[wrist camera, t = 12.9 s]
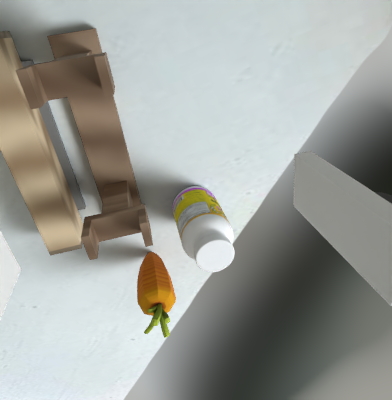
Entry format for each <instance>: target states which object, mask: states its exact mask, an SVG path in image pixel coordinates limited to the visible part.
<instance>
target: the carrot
mask: <svg viewBox="0 0 392 400" xmlns="http://www.w3.org/2000/svg"><path fill="white" fill-rule="evenodd" d="M137 297H138V304H139V306H140V307H141V309H142V311H143V312H144V314H147V315H152V316H153V318H152V321H151V323H150V325H149V327H148V328H147V329H146V330H145V332H144V333H145V334H148V333H149V332H150V331H151V330H152V328H153V326H157V325H158V323H159V321H160V324H161V328H162V332H163V335H164V338H165V337H168V336H169V335H170V333H169V330H168V327H167V323H169V322H170V319H169V316H168V314H167V312H169V311H170V310H171V308H172V306H173V305H174V303H175V300H176V297H175V293H174V289H173V285H172V282H171V278H170V276H169V274H168V271H167V269H166V267H165V265H164V263H163V261H162V259H161V258H160V257H159V256H158V255H157V254H155V253H154V252H149V253H148V254H147V255H146V256H145V258H144V260H143V262H142V264H141V267H140V271H139V275H138V282H137Z"/></svg>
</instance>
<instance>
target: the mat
mask: <svg viewBox="0 0 392 400" xmlns="http://www.w3.org/2000/svg"><path fill="white" fill-rule="evenodd" d="M21 63H22V66H23V67H25V66H28V65H33V64H34V62H33V60H29V61H23V62H21ZM39 110H40V113H41V116H42V118H43V121H44V123H45V126H46V129H47V131H48V134H49V136H50V139H51V142H52V144H53V147H54V149H55V152H56V155H57V157H58V160H59V163H60V165H61V168H62V170H63V173H64V176H65V178H66V181H67V183H68V186H69V189H70V191H71V194H72V196H73V199H74V202H75V204H76V207H77V209H78V210H81V209H85V208H86V206H85V203H84V200H83V198H82V195H81V192H80V189H79V187H78V184H77V181H76V178H75V175H74V173H73V170H72V167H71V164H70V162H69V159H68V156H67V153H66V151H65V148H64V145H63V142H62V140H61V137H60V134H59V131H58V129H57V126H56V123H55V120H54V117H53V115H52V112H51V109H50V106H49V104H48V101H47V102H46V103H45V104H44V105H43V106H42V107H41V108H39Z"/></svg>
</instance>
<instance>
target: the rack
mask: <svg viewBox="0 0 392 400" xmlns="http://www.w3.org/2000/svg"><path fill="white" fill-rule="evenodd" d="M48 39H49V42H50V46H51V49H52V52H53V55H54V58H55V60H53V61H51V62H45V63H39V64H33V65H28V66H25V67H23V68H20V69H18V70H15V71H16V73H17V76H18V79H19V81H20V84H21V86H22V89H23V91H24V94H25V96H26V99H27V101H28V104H29V107H30V109H37V108H41V107H42V106H43V105H44V104H45V103H46V102H47V101H48V100H54V99H59V98H65V97H68V100H69V103H70V106H71V109H72V112H73V115H74V118H75V121H76V124H77V127H78V131H79V134H80V137H81V140H82V143H83V146H84V149H85V152H86V155H87V158H88V161H89V164H90V167H91V170H92V173H93V176H94V179H95V182H96V185H97V188H98V191H99V194H100V197H101V200H102V203H103V206H102V214H97V215H93V216H88V217H85V219H84V224H83V229H82V234H81V239H82V241H83V244H84V247H85V249H86V252H87V254H88V257H89V259H90V260H92V259H96V258H97V257H98V247H99V242H101V241H105V240H109V239H114V238H118V237H122V236H127V235H131V234H135V233H140V232H142V235H143V239H144V243H145V246H146V247H147V246H151V245H153V243H152V236H151V229H150V224H149V220H148V216H147V212H146V208H145V204H142V205H141V201H140V197H139V193H138V189H137V185H136V181H135V178H134V174H133V170H132V166H131V162H130V158H129V154H128V151H127V147H126V143H125V139H124V135H123V131H122V127H121V123H120V120H119V116H118V112H117V108H116V104H115V100H114V96H113V95H114V90H115V85H114V81H113V77H112V74H111V70H110V66H109V62H108V58H107V54H106V52H105V53H102V50H101V46H100V42H99V39H98V35H97V31H96V29H90V30H83V31H77V32H71V33H64V34H58V35H52V36H48Z"/></svg>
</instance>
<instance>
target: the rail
mask: <svg viewBox="0 0 392 400" xmlns="http://www.w3.org/2000/svg"><path fill="white" fill-rule="evenodd" d="M20 68H23V66H22V63H21V61H20V58H19V56H18V53H17V50H16V48H15V45H14V43H13V40H12V37H11V35H10V32H9V31H0V150H1V152H2V154H3V156H4V158H5V160H6V163H7V165H8V167H9V169H10V171H11V173H12V175H13V177H14V179H15V182H16V184H17V186H18V188H19V190H20V192H21V194H22V196H23V198H24V201H25V203H26V205H27V207H28V209H29V211H30V213H31V215H32V217H33V220H34V222H35V224H36V226H37V228H38V230H39V232H40V234H41V236H42V239H43V241H44V243H45V245H46V247H47V249H48V251H49V253H50V255H54V254H59V253H63V252H67V251H71V250H76V249H80V248H82V244H83V241H82V239H81V234H82V229H83V222H82V220H81V217H80V215H79V212H78V209H77V207H76V204H75V202H74V199H73V196H72V194H71V191H70V189H69V186H68V183H67V181H66V178H65V176H64V173H63V170H62V168H61V165H60V163H59V160H58V157H57V155H56V152H55V149H54V147H53V144H52V142H51V139H50V136H49V134H48V131H47V129H46V126H45V123H44V121H43V118H42V116H41V113H40V110H39V108H37V109H30V107H29V104H28V101H27V99H26V96H25V94H24V91H23V89H22V86H21V84H20V81H19V79H18V76H17V73H16V71H15V70H18V69H20Z"/></svg>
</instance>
